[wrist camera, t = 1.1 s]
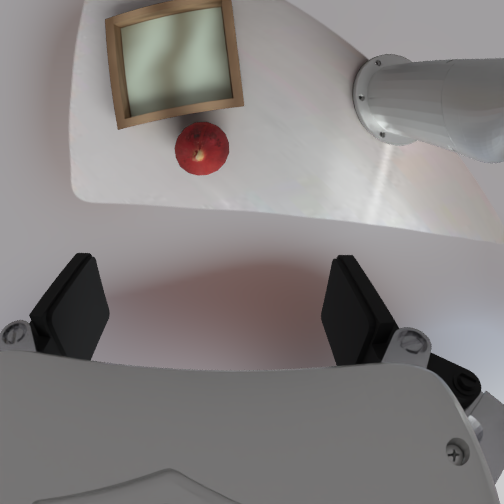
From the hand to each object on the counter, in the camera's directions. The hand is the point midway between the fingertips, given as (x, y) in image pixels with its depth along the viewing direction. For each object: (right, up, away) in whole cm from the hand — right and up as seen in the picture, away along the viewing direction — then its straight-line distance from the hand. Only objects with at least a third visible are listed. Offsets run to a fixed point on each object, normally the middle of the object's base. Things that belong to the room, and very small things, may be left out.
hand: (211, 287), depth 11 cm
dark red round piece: (-4, +14, +22) cm, 27 cm away
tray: (-7, +23, +17) cm, 30 cm away
